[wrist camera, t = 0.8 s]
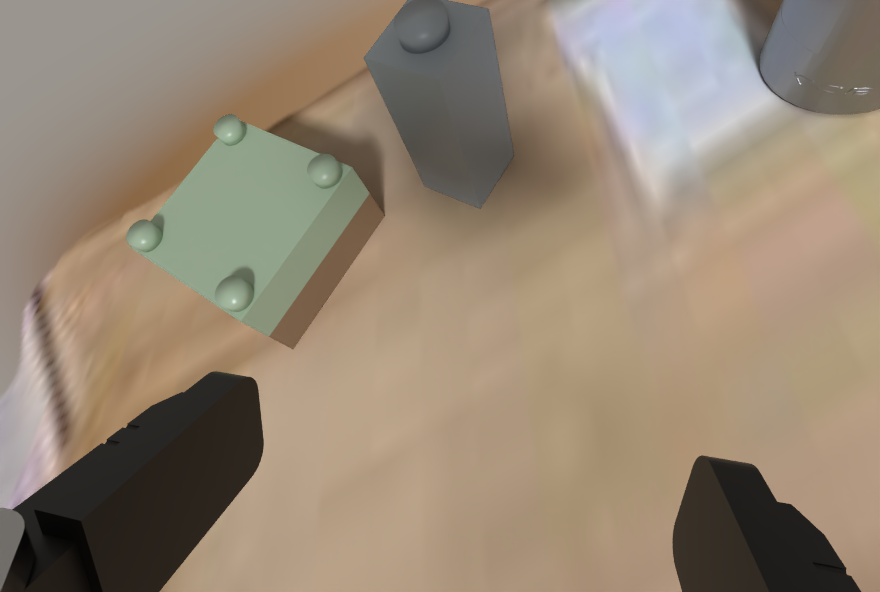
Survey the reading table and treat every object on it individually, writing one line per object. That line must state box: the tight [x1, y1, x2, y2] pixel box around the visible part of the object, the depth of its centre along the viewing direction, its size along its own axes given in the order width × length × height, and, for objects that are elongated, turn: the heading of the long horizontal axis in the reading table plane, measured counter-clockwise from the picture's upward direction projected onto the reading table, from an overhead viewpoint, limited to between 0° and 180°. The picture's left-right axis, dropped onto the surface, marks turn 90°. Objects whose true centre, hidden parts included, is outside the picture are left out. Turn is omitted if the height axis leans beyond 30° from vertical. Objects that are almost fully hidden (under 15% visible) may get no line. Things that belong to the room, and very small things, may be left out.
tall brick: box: [364, 0, 514, 208], centre depth 30 cm, size 5×5×13 cm
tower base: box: [126, 114, 385, 349], centre depth 34 cm, size 12×12×7 cm
